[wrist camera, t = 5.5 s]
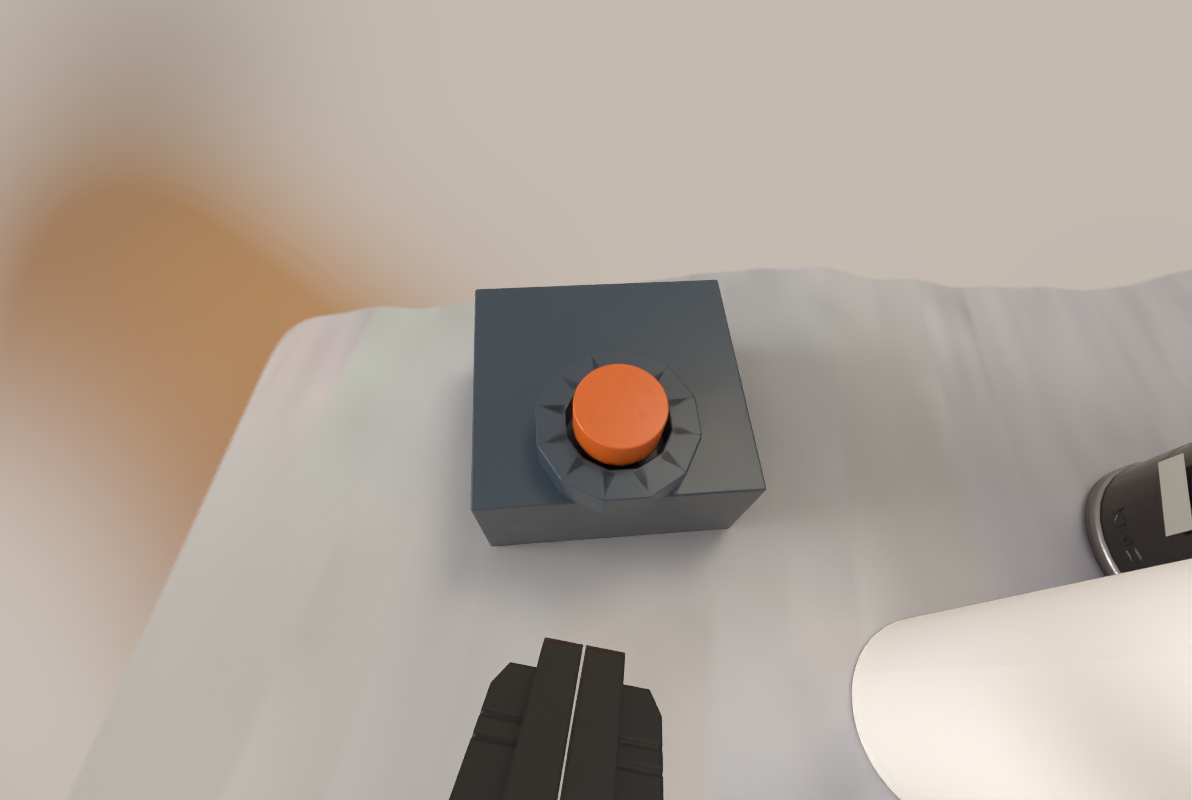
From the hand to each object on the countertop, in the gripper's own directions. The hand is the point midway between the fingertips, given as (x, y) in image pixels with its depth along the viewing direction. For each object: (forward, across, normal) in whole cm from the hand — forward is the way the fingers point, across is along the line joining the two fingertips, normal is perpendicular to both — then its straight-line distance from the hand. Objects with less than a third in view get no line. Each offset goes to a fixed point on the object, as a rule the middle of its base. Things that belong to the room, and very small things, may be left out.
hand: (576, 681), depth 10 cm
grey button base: (+20, +1, +3) cm, 20 cm away
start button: (+13, 0, -1) cm, 13 cm away
